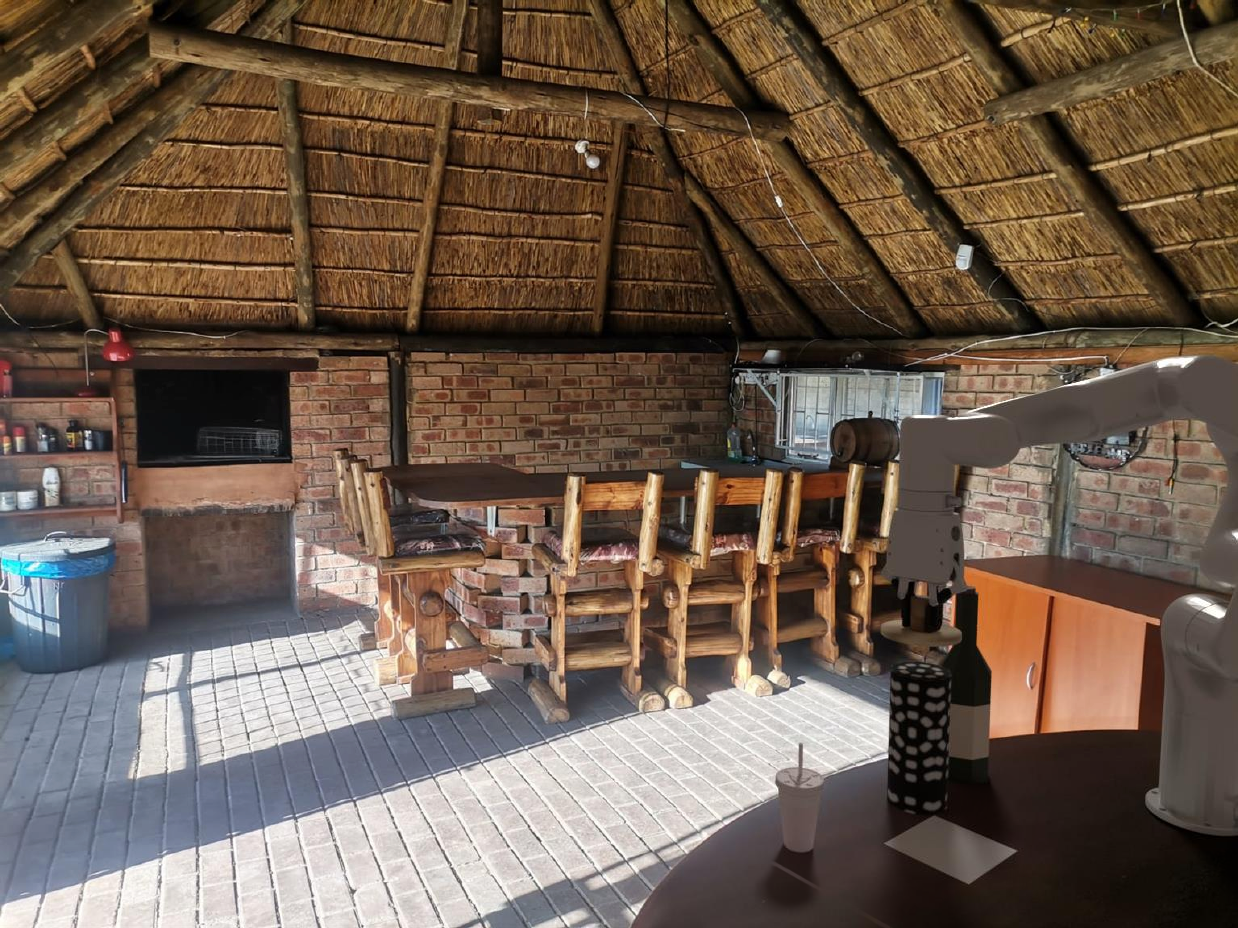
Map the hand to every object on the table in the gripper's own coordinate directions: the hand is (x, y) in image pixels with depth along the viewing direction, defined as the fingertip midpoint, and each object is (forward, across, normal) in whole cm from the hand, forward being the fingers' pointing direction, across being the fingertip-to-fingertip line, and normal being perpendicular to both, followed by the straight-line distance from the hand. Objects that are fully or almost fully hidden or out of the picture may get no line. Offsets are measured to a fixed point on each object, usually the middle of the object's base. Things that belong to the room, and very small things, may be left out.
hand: (921, 627), depth 124 cm
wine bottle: (+27, +1, -14) cm, 30 cm away
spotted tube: (+27, 0, 0) cm, 27 cm away
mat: (+26, -10, +8) cm, 29 cm away
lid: (+1, 0, 0) cm, 1 cm away
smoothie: (+27, +3, +23) cm, 35 cm away
